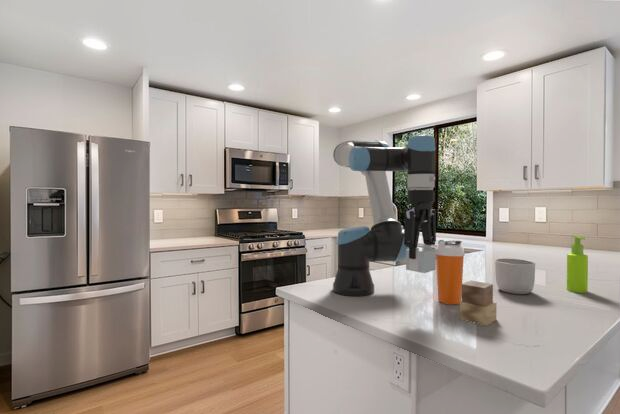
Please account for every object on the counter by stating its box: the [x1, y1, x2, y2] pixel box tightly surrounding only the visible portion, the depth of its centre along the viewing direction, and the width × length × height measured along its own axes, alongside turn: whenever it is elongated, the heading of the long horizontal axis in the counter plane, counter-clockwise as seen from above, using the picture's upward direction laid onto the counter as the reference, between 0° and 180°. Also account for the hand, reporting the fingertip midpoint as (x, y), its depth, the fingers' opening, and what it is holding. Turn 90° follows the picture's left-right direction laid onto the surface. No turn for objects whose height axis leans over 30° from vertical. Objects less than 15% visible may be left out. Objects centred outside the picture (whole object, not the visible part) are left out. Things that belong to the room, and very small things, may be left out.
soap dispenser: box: [566, 235, 589, 294], centre depth 120 cm, size 6×7×20 cm
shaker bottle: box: [434, 239, 465, 305], centre depth 109 cm, size 9×9×20 cm
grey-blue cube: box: [405, 246, 437, 274], centre depth 97 cm, size 6×6×6 cm
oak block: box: [459, 300, 497, 327], centre depth 93 cm, size 7×7×5 cm
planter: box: [494, 257, 536, 295], centre depth 120 cm, size 12×12×11 cm
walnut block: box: [461, 280, 494, 307], centre depth 93 cm, size 6×6×5 cm
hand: (420, 267), depth 98 cm, fingers closed on grey-blue cube, 6 cm apart
